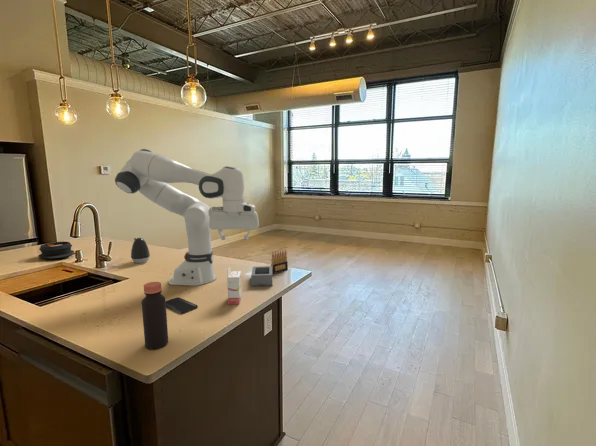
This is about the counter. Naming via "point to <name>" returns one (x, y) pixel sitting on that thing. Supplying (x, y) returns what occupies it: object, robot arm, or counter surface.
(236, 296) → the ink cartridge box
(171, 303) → the phone
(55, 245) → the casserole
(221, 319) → the counter surface
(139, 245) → the dark grey egg shape
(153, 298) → the bottle
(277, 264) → the ammunition clip
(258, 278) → the box
